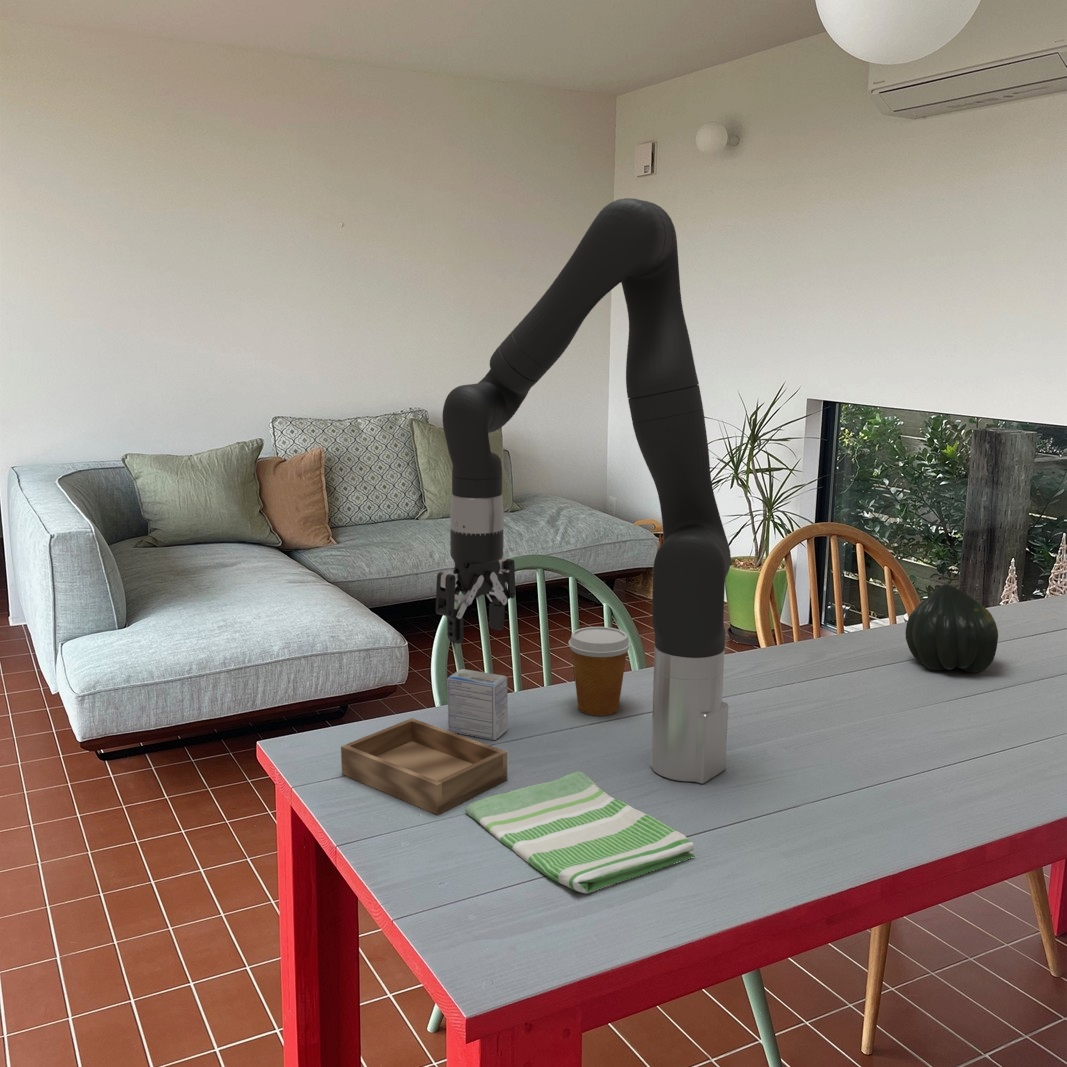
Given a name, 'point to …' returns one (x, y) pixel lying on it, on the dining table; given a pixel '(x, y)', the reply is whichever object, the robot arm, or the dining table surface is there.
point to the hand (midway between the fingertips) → (476, 635)
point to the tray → (424, 765)
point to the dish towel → (580, 833)
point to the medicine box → (477, 704)
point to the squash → (952, 632)
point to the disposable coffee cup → (598, 668)
